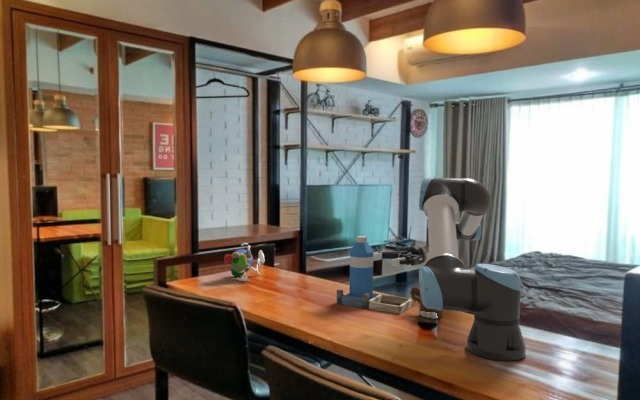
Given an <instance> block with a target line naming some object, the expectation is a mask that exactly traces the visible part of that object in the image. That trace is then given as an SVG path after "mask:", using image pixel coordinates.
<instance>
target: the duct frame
mask: <svg viewBox="0 0 640 400" xmlns="http://www.w3.org/2000/svg"><path fill="white" fill-rule="evenodd" d="M383 302H384V303H383ZM392 303H393V304H392ZM336 304H337V305H344V306H351V307H356V308H361V309H365V310H366V309H369V310H373V311H380V312H384V313H385V312H386V313H391V314H398V315H401V314H402V313H403V314H404V313H405V312H406V311H408V310H409V309H410V308H412V307H413V306H414V299H413V298H412V297H411V298H410V297H405V296H397V295H390V294H383V293H377V292H373V298H372V299H370V300H369V294H367V293H363V294H362V297H357V296H351V295H350V290H349V291H348V292H345V293H344V289H340V288H339V289H338V288H337V289H336ZM396 304H397V305H396Z"/></svg>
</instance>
